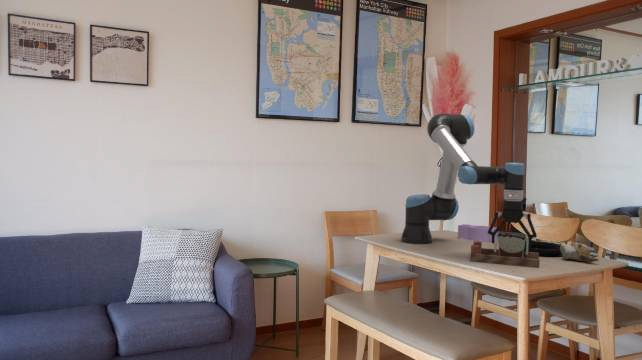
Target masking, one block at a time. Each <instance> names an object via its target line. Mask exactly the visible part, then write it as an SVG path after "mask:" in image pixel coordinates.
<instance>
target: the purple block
mask: <svg viewBox="0 0 642 360" xmlns="http://www.w3.org/2000/svg"><path fill="white" fill-rule="evenodd" d="M490 226H491V225H489V226H487V225H476V224H475V225H473V224H468V223H467V224H466V223H465V224H458V225H457V238H458V239H461V238H463V239H462V240H468V241H472V240H473V242H474V241H480V242H482V243H492V235H490V234H488V233H487V232H488V230H489V228H490ZM496 228H497V227H493V229H492V232H494V230H495V229H496ZM498 232H500V230H499V231H498ZM498 232H497V233H496V234H495V235H497V234H498ZM497 242H498V237H497Z"/></svg>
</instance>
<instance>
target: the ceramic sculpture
mask: <svg viewBox="0 0 642 360" xmlns="http://www.w3.org/2000/svg"><path fill="white" fill-rule="evenodd" d="M559 245H560V251H561V253H562V256H561V257H562V258H563V260H569V259H570V260H574V261H576V260H577V262H586V263H591V262H592V263H593V262H598V261H599V260H600V259H598V256H599V255H597V254H592V253H591V249H590V247H589V246H587V245H586V244H583V243H581V241H579V240H577V241H573V242H571V244H566V243H564V242H559Z"/></svg>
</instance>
